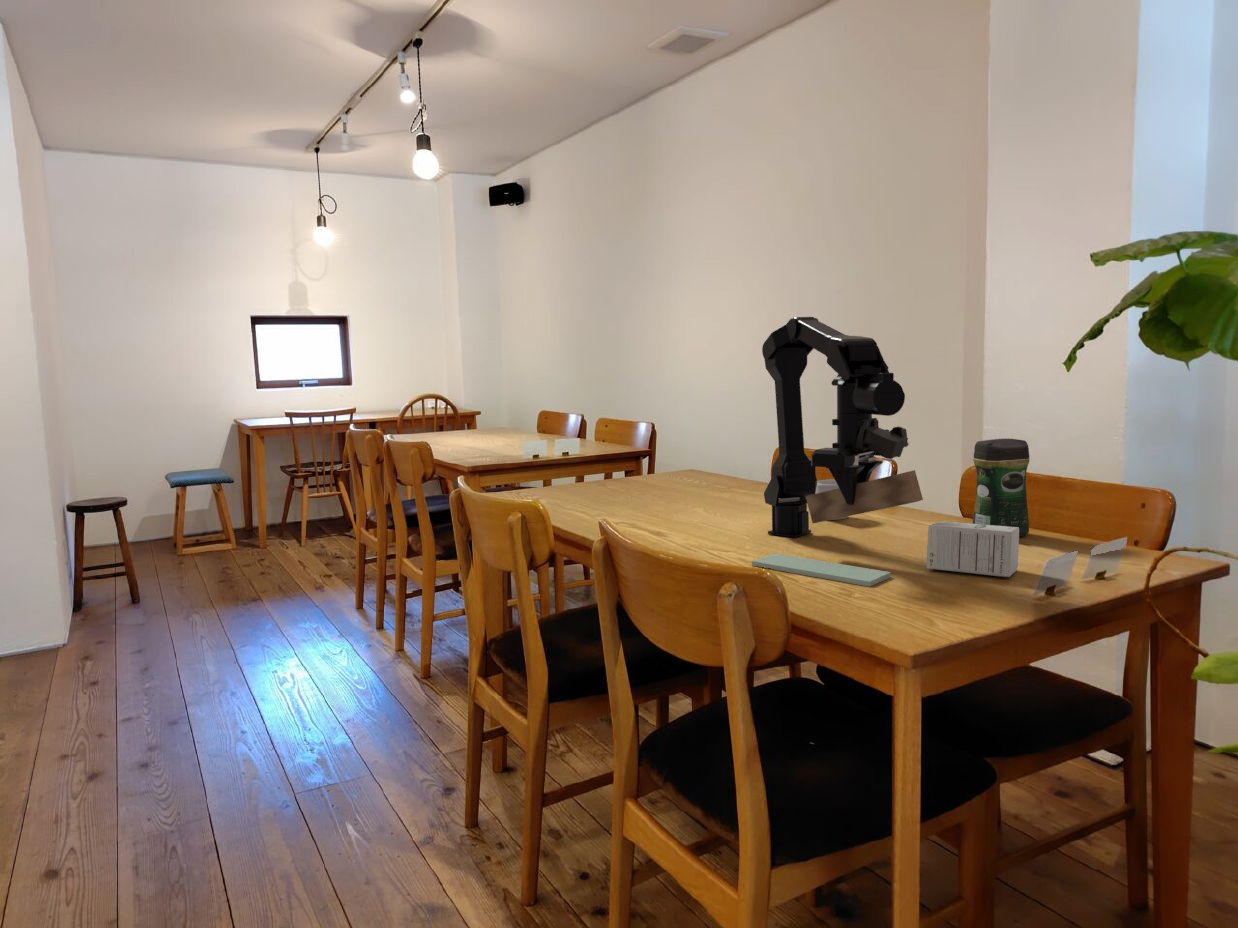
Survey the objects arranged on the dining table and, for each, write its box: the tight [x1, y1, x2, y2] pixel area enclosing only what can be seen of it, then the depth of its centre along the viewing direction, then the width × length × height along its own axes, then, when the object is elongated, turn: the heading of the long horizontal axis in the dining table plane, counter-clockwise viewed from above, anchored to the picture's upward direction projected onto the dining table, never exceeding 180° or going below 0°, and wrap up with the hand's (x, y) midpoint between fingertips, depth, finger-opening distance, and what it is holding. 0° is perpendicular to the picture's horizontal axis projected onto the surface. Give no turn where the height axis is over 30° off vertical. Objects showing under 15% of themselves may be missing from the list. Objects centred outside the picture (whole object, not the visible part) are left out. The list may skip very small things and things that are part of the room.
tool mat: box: [751, 553, 892, 588], centre depth 139 cm, size 22×7×1 cm, turn 46°
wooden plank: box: [805, 469, 924, 524], centre depth 143 cm, size 20×2×5 cm, turn 45°
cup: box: [815, 479, 849, 521], centre depth 181 cm, size 11×8×8 cm
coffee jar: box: [972, 438, 1031, 537], centre depth 160 cm, size 10×8×19 cm
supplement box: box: [926, 520, 1020, 578], centre depth 136 cm, size 7×7×13 cm
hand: (854, 503), depth 144 cm, fingers closed on wooden plank, 2 cm apart
